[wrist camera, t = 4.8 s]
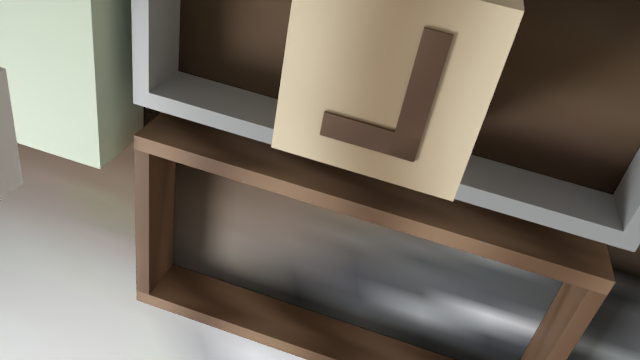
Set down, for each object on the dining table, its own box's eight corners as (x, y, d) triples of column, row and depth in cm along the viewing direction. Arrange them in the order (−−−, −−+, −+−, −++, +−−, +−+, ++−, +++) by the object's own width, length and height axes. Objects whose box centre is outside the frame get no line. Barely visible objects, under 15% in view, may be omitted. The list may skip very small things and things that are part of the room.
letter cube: (320, 80, 23) (269, 148, 18) (349, -76, 20) (297, -44, 15) (467, 121, 22) (455, 204, 17) (523, -35, 19) (528, 13, 14)
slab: (-38, 78, 28) (-99, 106, 26) (-83, -149, 23) (-168, -146, 20) (143, 133, 27) (100, 169, 24) (142, -94, 22) (85, -83, 19)
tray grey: (163, 81, 25) (133, 103, 23) (167, -182, 20) (128, -183, 18) (622, 214, 23) (634, 252, 20) (777, -48, 17) (814, -31, 15)
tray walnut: (160, 269, 32) (136, 300, 30) (163, 111, 26) (133, 135, 24) (518, 391, 29) (519, 433, 27) (606, 242, 23) (615, 282, 21)
